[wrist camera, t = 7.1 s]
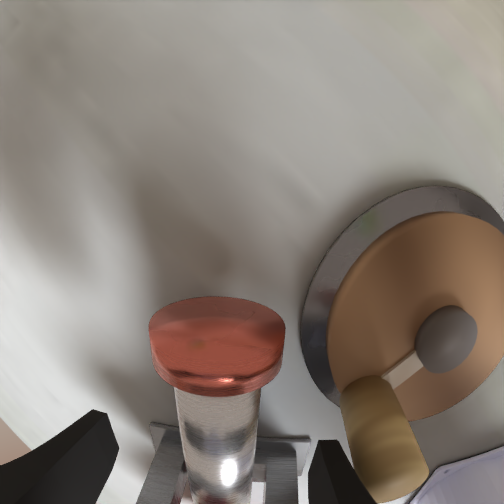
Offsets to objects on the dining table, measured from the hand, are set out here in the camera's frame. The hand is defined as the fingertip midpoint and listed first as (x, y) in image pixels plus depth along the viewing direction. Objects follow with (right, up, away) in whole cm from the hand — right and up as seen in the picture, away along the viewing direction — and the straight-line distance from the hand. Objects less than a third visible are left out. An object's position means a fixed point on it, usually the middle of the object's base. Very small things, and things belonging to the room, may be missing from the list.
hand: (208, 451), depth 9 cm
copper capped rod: (0, -1, +4) cm, 5 cm away
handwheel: (+9, +4, +4) cm, 11 cm away
